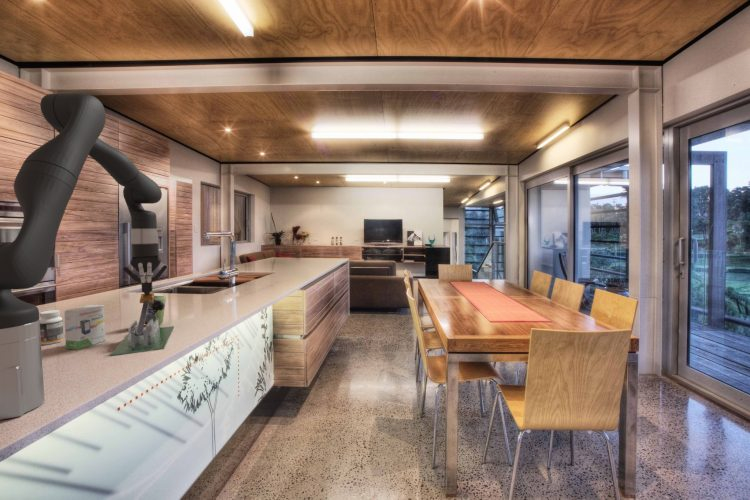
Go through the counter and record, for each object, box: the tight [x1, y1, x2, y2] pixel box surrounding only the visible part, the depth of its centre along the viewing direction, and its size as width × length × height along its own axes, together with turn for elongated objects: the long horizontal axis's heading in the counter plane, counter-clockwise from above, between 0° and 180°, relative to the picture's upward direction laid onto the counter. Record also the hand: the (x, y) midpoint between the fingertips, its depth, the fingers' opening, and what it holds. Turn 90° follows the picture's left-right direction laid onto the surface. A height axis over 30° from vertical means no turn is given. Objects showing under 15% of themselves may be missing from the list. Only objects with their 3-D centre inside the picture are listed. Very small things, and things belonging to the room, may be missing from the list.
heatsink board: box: [110, 313, 175, 357], centre depth 109 cm, size 25×13×6 cm, turn 25°
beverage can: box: [144, 292, 167, 326], centre depth 126 cm, size 6×7×12 cm
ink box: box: [64, 304, 107, 351], centre depth 105 cm, size 9×5×12 cm, turn 168°
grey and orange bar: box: [135, 292, 155, 336], centre depth 107 cm, size 19×4×1 cm
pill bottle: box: [39, 309, 64, 346], centre depth 107 cm, size 6×6×10 cm
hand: (147, 293), depth 114 cm, fingers closed
